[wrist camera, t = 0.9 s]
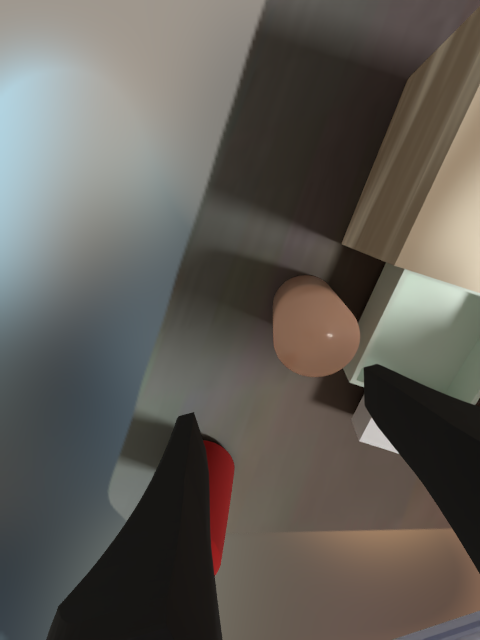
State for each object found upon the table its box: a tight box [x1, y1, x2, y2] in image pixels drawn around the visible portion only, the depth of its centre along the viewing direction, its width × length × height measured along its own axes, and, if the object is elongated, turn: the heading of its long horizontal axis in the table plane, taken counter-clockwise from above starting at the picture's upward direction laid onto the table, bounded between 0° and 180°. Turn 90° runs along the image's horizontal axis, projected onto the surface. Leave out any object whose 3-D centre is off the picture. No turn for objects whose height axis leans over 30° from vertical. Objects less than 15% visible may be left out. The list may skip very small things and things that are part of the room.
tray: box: [343, 262, 480, 453], centre depth 27 cm, size 10×15×4 cm, turn 163°
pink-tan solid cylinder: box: [273, 275, 360, 377], centre depth 24 cm, size 6×6×8 cm
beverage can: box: [203, 440, 234, 576], centre depth 29 cm, size 7×7×12 cm
